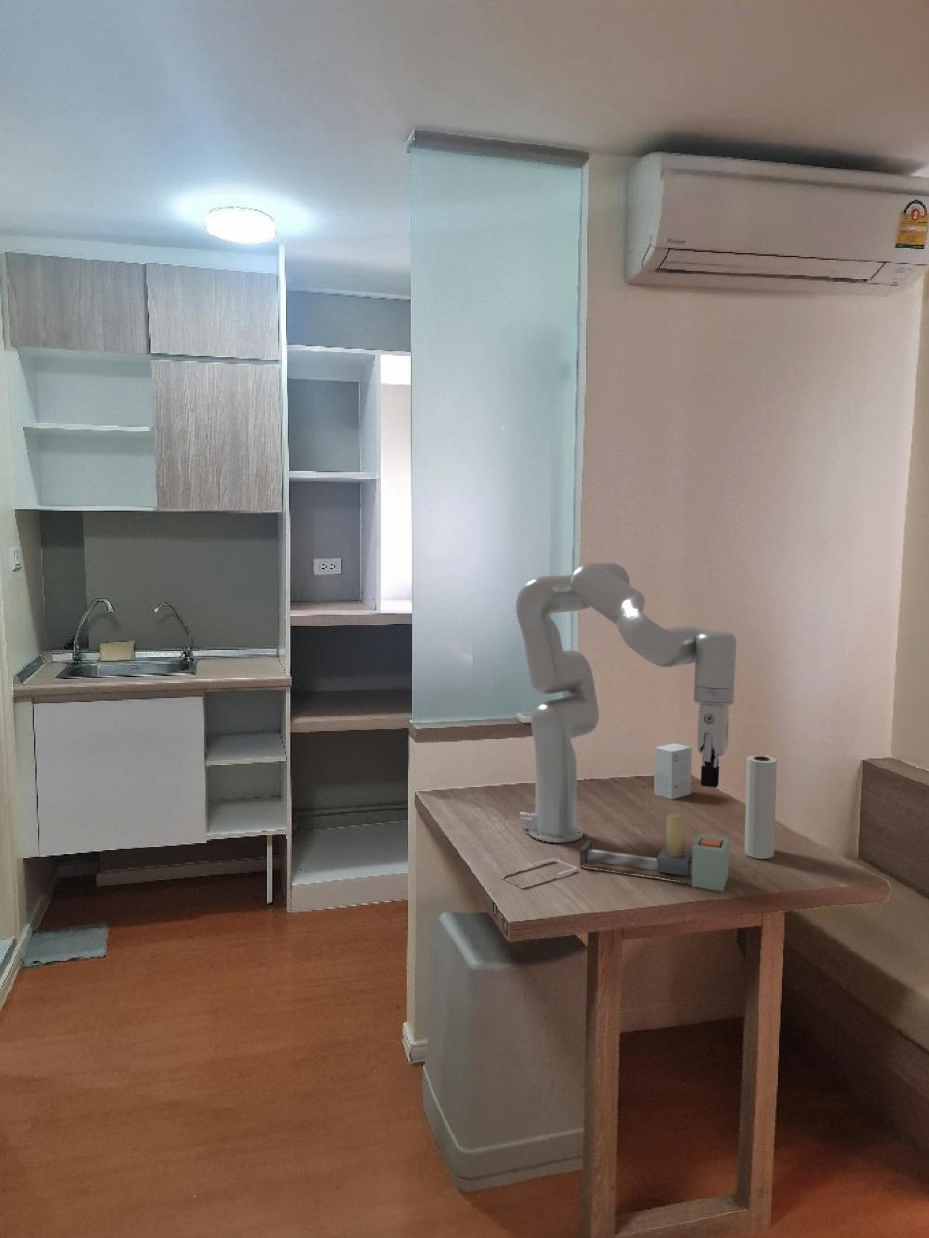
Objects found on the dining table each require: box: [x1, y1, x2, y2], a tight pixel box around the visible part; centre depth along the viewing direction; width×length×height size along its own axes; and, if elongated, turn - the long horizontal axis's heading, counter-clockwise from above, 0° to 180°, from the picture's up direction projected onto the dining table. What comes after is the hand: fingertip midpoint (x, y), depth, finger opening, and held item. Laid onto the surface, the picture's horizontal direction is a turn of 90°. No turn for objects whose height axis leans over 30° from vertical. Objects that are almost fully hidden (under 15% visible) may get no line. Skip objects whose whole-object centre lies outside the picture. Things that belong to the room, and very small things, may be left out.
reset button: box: [700, 837, 722, 848], centre depth 174 cm, size 4×4×3 cm
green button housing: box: [691, 834, 730, 892], centre depth 174 cm, size 6×8×8 cm
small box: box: [653, 742, 693, 800], centre depth 234 cm, size 8×6×13 cm
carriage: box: [656, 813, 692, 876], centre depth 176 cm, size 6×6×11 cm
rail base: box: [579, 839, 692, 885], centre depth 180 cm, size 23×6×4 cm, turn 66°
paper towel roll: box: [744, 754, 778, 860], centre depth 188 cm, size 7×6×21 cm
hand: (709, 785), depth 173 cm, fingers closed
